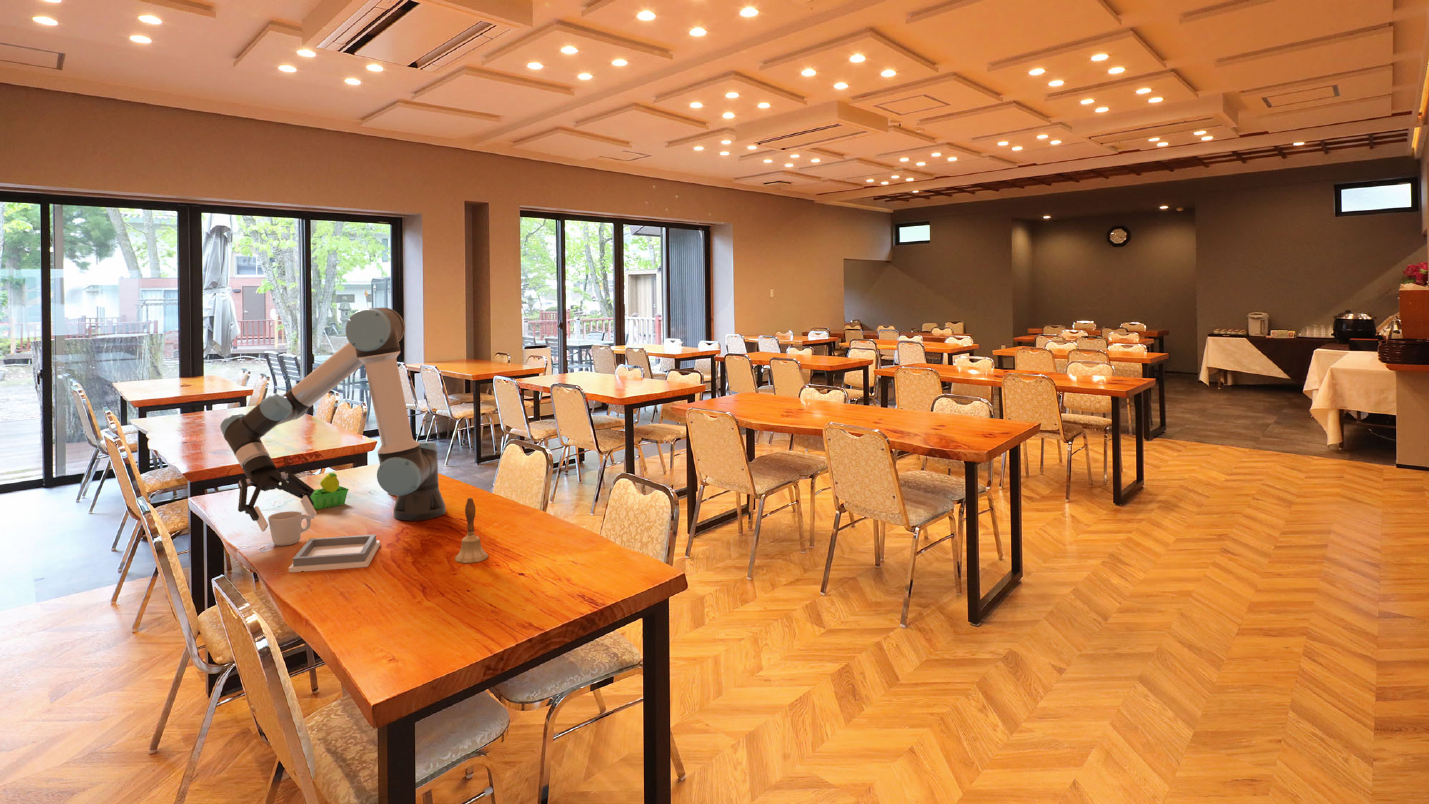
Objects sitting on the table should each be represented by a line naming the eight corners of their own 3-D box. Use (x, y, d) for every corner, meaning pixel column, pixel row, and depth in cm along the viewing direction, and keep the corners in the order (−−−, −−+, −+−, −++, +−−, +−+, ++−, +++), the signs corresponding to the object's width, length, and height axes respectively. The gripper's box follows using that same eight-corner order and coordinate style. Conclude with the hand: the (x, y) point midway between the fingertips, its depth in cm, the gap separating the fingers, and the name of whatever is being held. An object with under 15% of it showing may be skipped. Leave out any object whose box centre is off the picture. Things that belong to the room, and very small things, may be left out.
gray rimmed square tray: (380, 544, 212) (379, 533, 211) (367, 566, 194) (367, 554, 194) (308, 549, 207) (307, 537, 207) (289, 572, 190) (288, 560, 190)
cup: (303, 534, 220) (302, 507, 219) (318, 539, 216) (317, 511, 215) (264, 544, 211) (262, 516, 210) (279, 549, 207) (277, 521, 206)
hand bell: (459, 553, 205) (456, 494, 203) (491, 552, 206) (489, 494, 204) (451, 563, 197) (448, 503, 195) (484, 563, 198) (482, 502, 195)
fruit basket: (338, 500, 257) (336, 467, 256) (352, 504, 252) (350, 470, 251) (303, 507, 248) (301, 473, 247) (318, 512, 243) (315, 477, 242)
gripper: (294, 462, 230) (327, 519, 225) (204, 479, 209) (238, 541, 203) (303, 447, 227) (337, 504, 221) (213, 462, 205) (248, 525, 200)
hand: (290, 522), depth 212 cm, fingers open, 13 cm apart
